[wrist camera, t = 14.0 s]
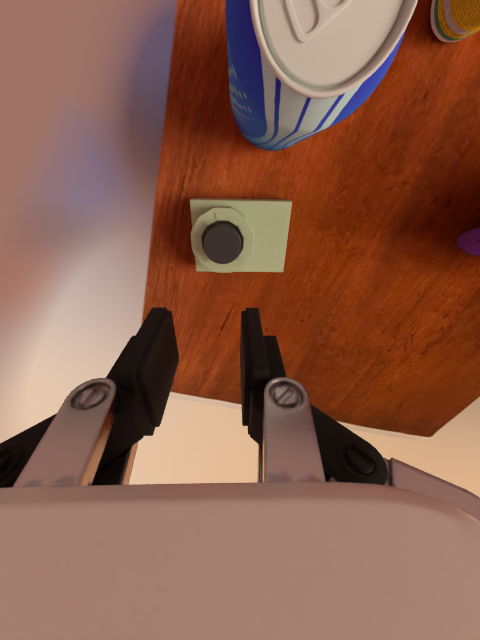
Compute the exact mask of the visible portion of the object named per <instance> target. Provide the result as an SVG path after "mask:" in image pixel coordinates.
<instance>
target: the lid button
mask: <svg viewBox="0 0 480 640" xmlns="http://www.w3.org/2000/svg"><path fill="white" fill-rule="evenodd" d="M203 248H204V251H205V254H206V255H207V257H208V258H209V259H210V260H211V261H213V262H215V263H218V264H228V263H231V262H232V261H234V260H235V259H236V258H237V257H238V255H239V254H240V251H241V239H240V235H239V233H238V231H237V230H236V229H235V228H234V227H233V226H232V225H230V224H227V223H217V224H215V225H213V226H211V227H210V228H209V229H208V231H207V233H206V235H205V237H204V240H203Z"/></svg>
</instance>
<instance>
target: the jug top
mask: <svg viewBox="0 0 480 640" xmlns="http://www.w3.org/2000/svg"><path fill="white" fill-rule="evenodd" d="M291 205H292V201H289V200H281V199H228V198H192V199H190V208H191V219H192V231H191V244H192V250H193V253H194V254H195V264H196V271H214V272H230V273H231V272H283V268H284V260H285V252H286V244H287V236H288V228H289V221H290V213H291ZM217 223H227V224H230V225H232V226H233V227H234V228H235V229H236V230H237V231H238V233H239V235H240V239H241V251H240V254H239V255H238V257H237V258H236V259H235V260H234V261H232V262H231V263H228V264H218V263H215V262H213V261H211V260H210V259H209V258H208V257H207V255H206V254H205V251H204V248H203V240H204V237H205V235H206V233H207V231H208V229H209V228H210V227H211V226H213V225H215V224H217Z"/></svg>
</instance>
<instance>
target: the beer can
mask: <svg viewBox="0 0 480 640" xmlns="http://www.w3.org/2000/svg"><path fill="white" fill-rule="evenodd" d="M417 2H418V0H226V29H227V48H228V68H229V88H230V102H231V108H232V113H233V116H234V119H235V122H236V124H237V126H238V128H239V130H240V131H241V133H242V134H243V135H244V137H245V138H246V139H247V140H248V141H249V142H250V143H252V144H253V145H255V146H256V147H258V148H261V149H264V150H268V151H277V150H282V149H285V148H287V147H290V146H292V145H294V144H296V143H298V142H300V141H302V140H304V139H306V138H308V137H310V136H312V135H314V134H316V133H319V132H321V131H323V130H325V129H327V128H329V127H331V126H333V125H335V124H337V123H338V122H340V121H342V120H343V119H345V118H346V117H348V116H349V115H350V114H351V113H353V112H354V111H355V110H356V109H357V108H358V107H359V106H360V105H361V104H362V103H363V102H364V101H365V100H366V99H367V98H368V97H369V96H370V95H371V93H372V92H373V91H374V90H375V88H376V87H377V86H378V84H379V83H380V81H381V80H382V78H383V77H384V75H385V73H386V72H387V70H388V68H389V66H390V65H391V63H392V61H393V59H394V57H395V55H396V53H397V50H398V48H399V46H400V43H401V41H402V39H403V36H404V33H405V30H406V27H407V25H408V23H409V21H410V19H411V17H412V14H413V12H414V9H415V7H416V5H417Z"/></svg>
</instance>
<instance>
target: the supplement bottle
mask: <svg viewBox="0 0 480 640" xmlns="http://www.w3.org/2000/svg"><path fill="white" fill-rule="evenodd" d="M430 19H431V26H432V30H433V32H434V34H435V35H436V37H437V38H438V39H439V40H441V41H442V42H448V43H450V42H457V41H459V40H462V39H464V38H466V37H468V36H470V35H471V34H473V33H475V32H477V31H478V30H480V0H432V5H431V14H430Z"/></svg>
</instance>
